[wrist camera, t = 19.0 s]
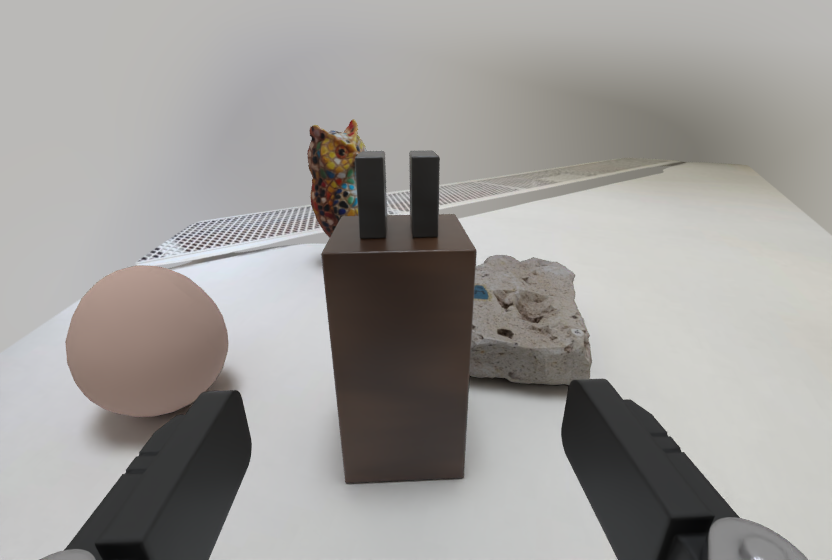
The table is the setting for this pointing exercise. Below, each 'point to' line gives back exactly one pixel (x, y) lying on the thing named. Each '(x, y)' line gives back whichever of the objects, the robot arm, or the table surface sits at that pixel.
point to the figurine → (334, 174)
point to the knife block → (400, 328)
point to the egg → (145, 342)
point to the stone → (527, 323)
